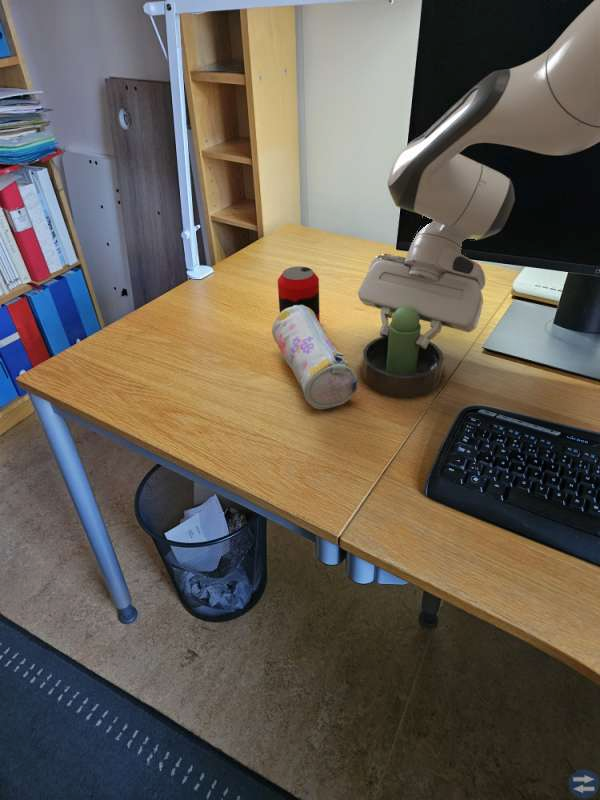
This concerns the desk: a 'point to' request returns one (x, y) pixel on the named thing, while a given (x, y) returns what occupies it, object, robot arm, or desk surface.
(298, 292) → the soda can
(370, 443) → the desk surface
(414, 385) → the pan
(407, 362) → the green dome-topped cylinder
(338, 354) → the pencil case
